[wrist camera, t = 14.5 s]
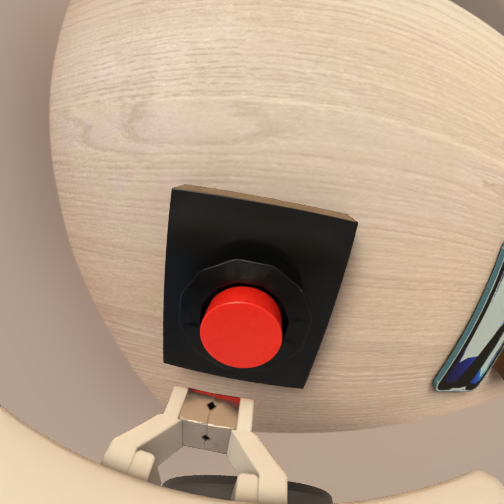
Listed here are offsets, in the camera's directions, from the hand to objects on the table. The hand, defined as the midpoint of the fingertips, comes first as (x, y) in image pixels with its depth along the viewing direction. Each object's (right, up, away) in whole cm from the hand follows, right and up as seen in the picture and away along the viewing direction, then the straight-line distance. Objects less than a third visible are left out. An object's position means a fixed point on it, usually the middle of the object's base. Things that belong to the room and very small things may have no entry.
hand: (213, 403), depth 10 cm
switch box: (+1, +3, +9) cm, 9 cm away
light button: (+1, +2, +5) cm, 6 cm away
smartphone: (+23, -1, +8) cm, 25 cm away
